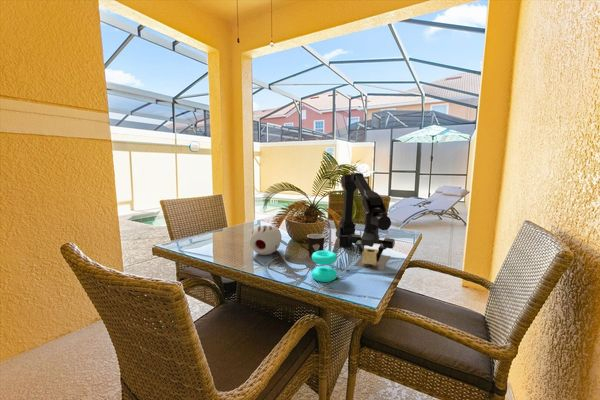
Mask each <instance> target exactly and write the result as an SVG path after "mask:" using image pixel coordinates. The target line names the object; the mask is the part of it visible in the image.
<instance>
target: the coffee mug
mask: <svg viewBox="0 0 600 400" xmlns="http://www.w3.org/2000/svg"><path fill="white" fill-rule="evenodd" d="M301 241H305V242H306V243H307V247H308V248H307V247H305V246H303V245H302V244H301ZM298 243H299V245H300V246H301V247H302V248H303V249H305V251H307V252H308V256H309V258H312V254H313V253H314V252H316V251H324V246H325V245H324V243H325V235H324V234H321V233H310V234H308V235H306V238H300V240H299V241H298Z"/></svg>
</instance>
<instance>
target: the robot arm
mask: <svg viewBox="0 0 600 400" xmlns="http://www.w3.org/2000/svg"><path fill="white" fill-rule="evenodd" d="M340 183H341V188H342V189H343V191H344V192H343V205H342V207H343V209H342V218H341V220H340V221H339V222H338V227H337V229H336V231H335V237H336V238H337V240H338V241H337V242H338V244H337V248H338V249H340V248H341V247H342V248H351V247H352V246H353V244H354V246H356V247H357V248H358V250H359V252H360V256H361V257H362V251H363V250H364V249H365V247H368V248H369V247H371V248H373V247H374V245H375V244H376V245H379V246H378V249H377V250H378V257H377V262H378V261H379V259H380V257H381V255H383V251H384V250H386V249H393V248H394V247H395V246H396V245H395V244H396V243H395V242H396V240H395V238H389V237H385V238H384V239H380V235H379V230H381V231H388V230H389V229H390V228H391V225H392V221H391V220H392V219H390V217H389V216H388V214H387V208H386V206H385V203H384V201H383V198H382V196H381V195H380V194H379V193H377V192H376V191H373V190H372V188H371V187H370V185H369V183H368V182H367V180H366V179H365V176H364V173H362V172H353V173H350V174H345V173H344V174H343V175H341V177H340ZM356 190H358V192H359V193H360V195H361V197H362V199H361V203H362V206H363V208H364V210H363V213H364V217H365V218H364V229H363V233H362V235H361V234H356V224H355V223H354V221H353V211H354V210H353V209H354V197H355V196H354V194H355V191H356Z"/></svg>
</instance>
